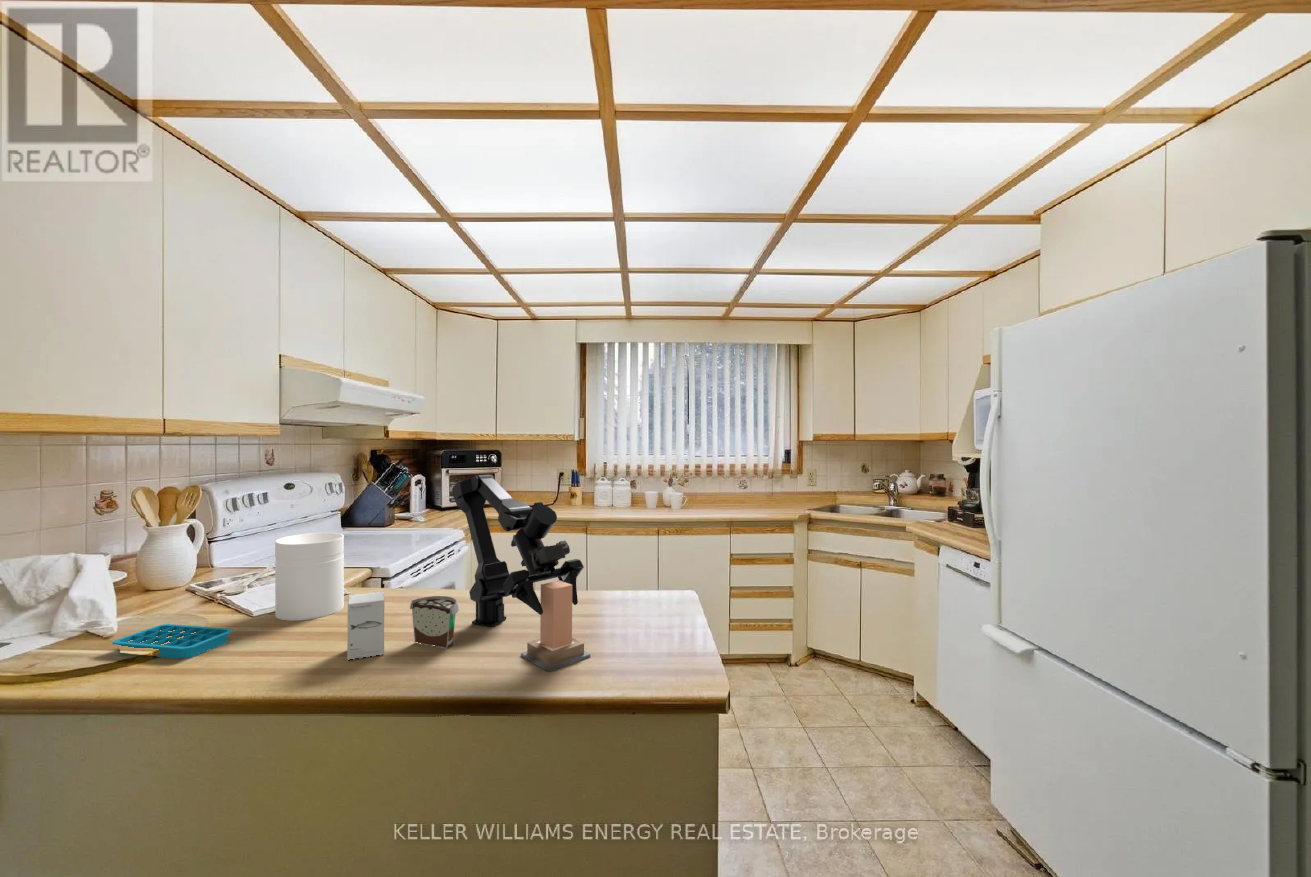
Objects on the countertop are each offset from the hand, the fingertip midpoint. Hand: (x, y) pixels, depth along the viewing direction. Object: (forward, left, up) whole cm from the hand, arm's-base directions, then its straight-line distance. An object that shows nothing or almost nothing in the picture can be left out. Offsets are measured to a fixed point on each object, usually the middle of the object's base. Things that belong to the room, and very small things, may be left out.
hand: (559, 608), depth 120 cm
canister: (-79, +4, -11) cm, 80 cm away
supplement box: (-42, -12, -11) cm, 45 cm away
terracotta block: (-1, +1, -8) cm, 8 cm away
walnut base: (-1, +1, -11) cm, 11 cm away
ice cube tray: (-85, -25, -12) cm, 90 cm away
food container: (-31, -1, -11) cm, 33 cm away
